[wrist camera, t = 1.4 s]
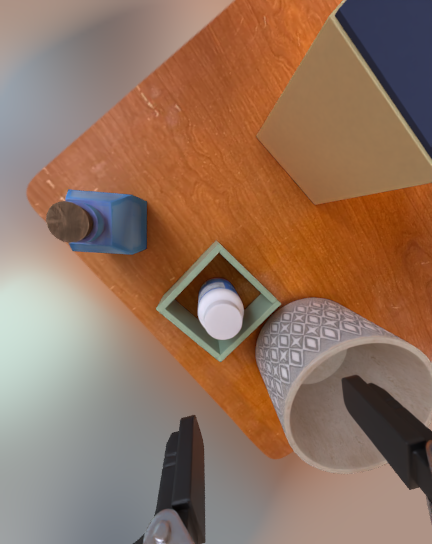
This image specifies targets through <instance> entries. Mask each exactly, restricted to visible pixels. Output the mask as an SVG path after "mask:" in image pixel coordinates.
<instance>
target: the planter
mask: <svg viewBox="0 0 432 544" xmlns="http://www.w3.org/2000/svg"><path fill="white" fill-rule="evenodd" d="M255 351H256V361H257V366H258V368H259V371H260V373H261V375H262V378H263V380H264V383H265V385H266V388H267V390H268V393H269V395H270V398H271V400H272V403H273V405H274V408H275V410H276V412H277V415H278V417H279V420H280V422H281V425H282V427H283V430H284V432H285V435H286V437H287V440H288V442H289V444H290V446H291V447H292V449H293V450H294V452H295V453H296V454H297V455H298V456H299V457H300V458H301V459H302V460H303V461H305V462H306V463H308V464H309V465H311V466H313V467H315V468H317V469H320V470H323V471H327V472H331V473H340V474H352V473H359V472H364V471H369V470H372V469H375V468H378V467H380V466H383V465H385V464H387V463H388V462H387V461H386V459H385V458H384V457H383V456H382V454H381V453H380V452H379V451H378V449H377V448H376V447H375V445H374V444H373V443H372V442H371V440H370V439H369V438H368V437H367V435H366V434H365V433H364V432H363V430H362V429H361V428H360V427H359V425H358V424H357V423H356V421H355V420H354V419H353V418H352V416H351V415H350V414H349V412H348V410H347V409H346V406H345V404H344V399H343V390H342V382H341V379H342V378H344V377H348V376H352V375H358V376H360V377H361V378H362V379H363V380H364V381H365V382H366V383H367V384H368V383H374V384H376V385H377V386H379V387H381V388H383V389H385V390H386V391H387V392H388V393H389V394H390V395H391V396H392V397H394V399H395V400H397V401H398V402H399V403H400V404H401V405H402V406H403V407H405V408H406V409H407V410H408V411H409V412H411V413H412V414H413V415H414V416H415V417H416V418H417V419H418V420H420V421H421V422H422V423H423V424H424V425H425V426H426V427H427V428H428V427H429V425H430V423H431V421H432V363H431V362H430V360H429V359H428V358H427V357H426V356H425V355H424V354H423V353H422V352H421V351H420V350H419V349H417V348H416V347H414V346H413V345H411V344H410V343H408V342H406V341H404V340H403V339H401V338H399V337H397V336H395V335H394V334H392V333H390V332H388V331H386V330H385V329H383V328H381V327H379V326H378V325H376V324H374V323H372V322H370V321H369V320H367V319H365V318H363V317H362V316H360V315H358V314H356V313H354V312H353V311H351V310H349V309H347V308H346V307H344V306H342V305H340V304H338V303H336V302H334V301H332V300H328V299H324V298H304V299H300V300H296V301H294V302H291V303H289V304H287V305H285V306H284V307H282V308H280V309H279V310H278V311H276V312H275V313H274V314H273V315H272V316H271V317H270V318H269V319H268V320H267V322H266V323H265V324H264V326H263V327H262V329H261V331H260V333H259V336H258V339H257V343H256V350H255Z"/></svg>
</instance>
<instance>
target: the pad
mask: <svg viewBox="0 0 432 544" xmlns="http://www.w3.org/2000/svg"><path fill="white" fill-rule="evenodd" d="M335 17H336V18H337V20H338V21H339V23H340V24H341V26H342V27H343V29H344V30H345V31H346V33H347V34H348V36H349V37H350V39H351V40H352V42H353V43H354V45H355V46H356V48H357V49H358V51H359V52H360V54H361V55H362V57H363V58H364V60H365V61H366V63H367V64H368V66H369V67H370V68H371V70H372V71H373V73H374V74H375V76H376V77H377V79H378V80H379V82H380V83H381V85H382V86H383V88H384V89H385V91H386V92H387V94H388V95H389V97H390V98H391V100H392V101H393V103H394V104H395V105H396V107H397V108H398V110H399V111H400V113H401V114H402V116H403V117H404V119H405V120H406V122H407V123H408V125H409V126H410V128H411V129H412V131H413V132H414V134H415V135H416V137H417V138H418V140H419V141H420V142H421V144H422V145H423V147H424V148H425V150H426V151H427V153H428V154H429V156H430V157H431V159H432V0H346V1H345V2H344V3H343V5H342V6H341V7H340V8H339V9H338V11H337V12H336V14H335Z"/></svg>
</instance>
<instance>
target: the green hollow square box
mask: <svg viewBox="0 0 432 544" xmlns="http://www.w3.org/2000/svg"><path fill="white" fill-rule="evenodd" d="M218 253H220V254H221V255H222V256H223V257H224V258H225V259H226V260H227V261H228V262H229V263H230V264H231V265H233V266H234V267H235V268H236V269H237V270H238V271H239V272H240V273H241V274H242V275H243V276H244V277H245V278H246V279H247V280H248V281H249V282H250V283H251V284H252V285H253V286H254V287H255V288H256V289H257V290H259V291H260V292H261V294H260V295H259V296H258V297H257V298H256V299H255V300H254V301H253V302H252V303H251V304H250V305H249V306H248V307H247V308H246V309H245V310H244V315H243V319H242V327H241V329H240V331H239V332H238V333H237V335H235V336H234V337H232V338H230V339H227V340H219V339H215V338H213V337H212V336H210V335H209V334H208V333H207V331H206V329H205V328H204V327H203V326H202V324H201V323H200V321H199V320H198V319H197V318H196V317H195V316H194V315H192V314H191V313H190V312H189V311H188V310H187V309H185V308H184V307H183V306H182V305H181V304H179V303H178V302H177V301H176V300H175V298H176V297H177V296H178V295H179V294H180V293H181V292H182V291H183V290H184V289H185V287H186V286H187V285H188V284H189V283H190V282H191V281H192V280H193V279H194V278H195V277H196V276H197V275H198V274H199V273H200V272H201V271H202V270H203V269H204V268H205V267H206V266H207V265H208V264H209V263H210V261H211V260H212V259H213V258H214V257H215V256H216V255H217V254H218ZM280 305H281V303H280V302H279V301H278V300H277V299H276V298H275V297H274V296H273V295H272V294H271V293H270V292H269V291H268V290H267V289H266V288H265V287H264V286H263V285H262V284H261V283H260V282H259V281H258V280H257V279H256V278H254V277H253V276H252V275H251V274H250V273H249V272H248V271H247V270H246V269H245V268H244V267H243V266H242V265H241V264H240V263H239V262H238V261H237V260H236V259H235V258H234V257H233V256H232V255H231V254H230V253H229V252H228V251H227V250H226V249H225V248H224V247H223V246H222V245H221V244H220V243H218V242H217V241H215V242H214V243H213V244H212V245H211V246H210V247H209V248H208V249H207V250H206V251H205V252H204V253H203V254H202V256H201V257H200V258H199V259H198V260H197V261H196V262H195V263H194V264H193V265H192V266H191V267H190V268H189V269H188V270H187V271H186V272H185V273H184V274H183V276H182V277H181V278H180V279H179V280H178V281H177V282H176V283H175V284H174V285H173V286H172V287H171V288H170V289H169V290H168V291H167V292H166V293H165V294H164V296H163V297H162V299H161V301H160V302H159V304H158V306H157V308H156V310H157V311H159V312H160V313H161V314H162V315H163V316H165V317H166V318H167V319H168V320H169V321H171V322H172V323H173V324H174V325H176V326H177V327H178V328H179V329H180V330H182V331H183V332H184V333H185V334H186V335H188V336H189V337H190V338H191V339H193V340H194V341H195V342H196V343H197V344H199V345H200V346H201V347H202V348H204V349H205V350H206V351H207V352H208V353H210V354H211V355H212V356H213V357H214V358H216V359H217V360H218V361H220V362H222V361H223V360H224V359H225V358H226V357H227V356H228V355H229V354H230V353H231V352H232V351H233V350H234V349H235V348H236V347H237V346H238V345H239V344H240V343H241V342H242V341H243V340H244V339H246V338H247V337H248V336H249V335H250V334H251V333H252V332H253V331H254V330H255V329H256V328H257V327H258V326H259V325H260V324H261V323H262V322H263V321H264V320H265V319H266V318H267V317H268V316H269V315H270V314H272V313H273V312H274V311H275V310H276V309H277V308H278V307H279V306H280Z"/></svg>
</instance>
